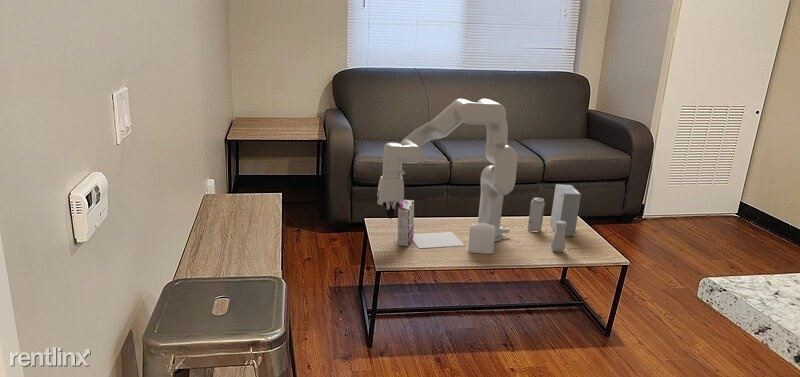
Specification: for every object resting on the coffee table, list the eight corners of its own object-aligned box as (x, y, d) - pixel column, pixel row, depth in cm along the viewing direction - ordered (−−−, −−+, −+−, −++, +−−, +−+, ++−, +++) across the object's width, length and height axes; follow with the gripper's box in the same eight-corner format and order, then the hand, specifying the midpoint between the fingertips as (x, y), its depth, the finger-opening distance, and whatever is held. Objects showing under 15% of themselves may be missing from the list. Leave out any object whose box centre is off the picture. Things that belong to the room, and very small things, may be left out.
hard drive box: (574, 237, 252) (581, 194, 246) (557, 236, 252) (564, 193, 246) (565, 225, 266) (571, 184, 261) (549, 224, 266) (555, 183, 260)
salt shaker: (547, 249, 237) (551, 219, 233) (558, 247, 239) (562, 218, 235) (556, 254, 232) (560, 224, 228) (567, 252, 234) (572, 223, 230)
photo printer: (468, 253, 228) (471, 224, 224) (467, 249, 232) (470, 220, 228) (493, 255, 228) (497, 226, 224) (492, 250, 232) (495, 222, 228)
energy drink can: (527, 227, 260) (531, 196, 256) (540, 228, 259) (545, 197, 255) (527, 231, 255) (531, 200, 250) (541, 233, 254) (545, 201, 249)
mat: (451, 232, 249) (451, 231, 249) (464, 245, 235) (464, 245, 235) (408, 234, 243) (408, 234, 243) (418, 248, 229) (418, 248, 229)
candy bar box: (402, 235, 241) (403, 199, 236) (413, 236, 240) (414, 200, 235) (396, 245, 231) (397, 207, 226) (408, 247, 230) (409, 209, 225)
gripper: (407, 171, 231) (404, 213, 236) (371, 171, 226) (369, 215, 232) (412, 176, 224) (409, 219, 229) (376, 177, 219) (373, 221, 225)
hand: (389, 217), depth 230 cm, fingers closed
